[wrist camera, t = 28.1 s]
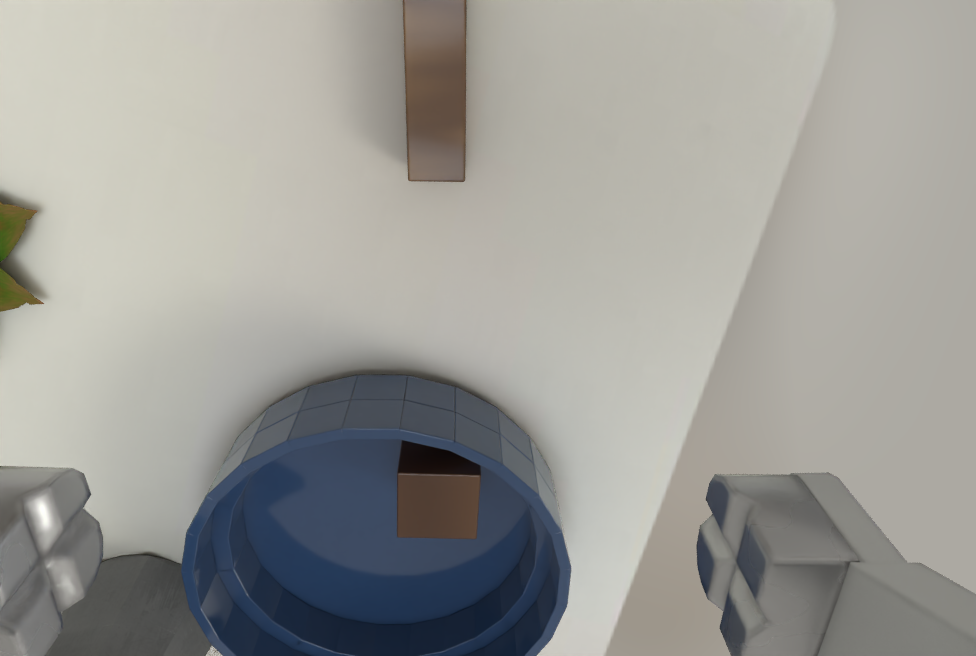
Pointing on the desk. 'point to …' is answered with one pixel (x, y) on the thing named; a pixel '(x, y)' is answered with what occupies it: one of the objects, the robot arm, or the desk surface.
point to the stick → (435, 89)
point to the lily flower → (3, 232)
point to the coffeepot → (132, 613)
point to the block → (436, 493)
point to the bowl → (374, 532)
